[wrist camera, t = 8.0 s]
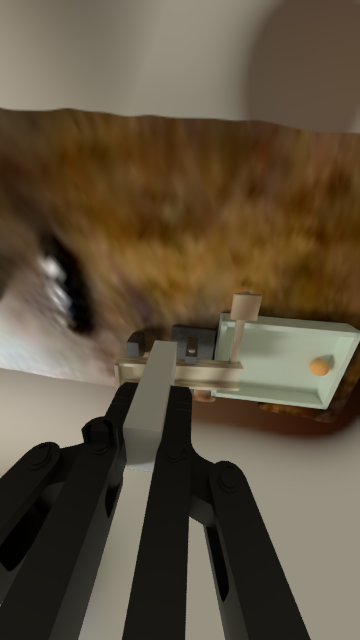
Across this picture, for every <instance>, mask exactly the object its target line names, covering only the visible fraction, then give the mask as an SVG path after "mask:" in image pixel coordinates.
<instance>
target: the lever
mask: <svg viewBox="0 0 360 640" xmlns="http://www.w3.org/2000/svg"><path fill="white" fill-rule="evenodd" d="M261 299H262V295H260V294H251V293H250V292H241V293H234V295H233V301H232V307H231V313H230V319H231V320H236V324H235V329H234V335H233V340H232V346H231V351H230V357H229V361H222V360H200V359H197V364H189V363H185V359H178V358H176V372H175V380H174V386H183V387H189V389H200V390H222V391H239V386H238V380H239V375H240V372H243V370H244V369H243V366H242V364H241V362H240V361H238V356H239V351H240V346H241V341H242V336H243V331H244V326H245V321H246V320H252V321H257V317H258V312H259V308H260V303H261ZM148 358H149V357H135V356H119V357H118V359H117V361H116V363H115V365H114V368H115V378H116V387H117V388H119V387H120V386H121V385H122V384H123V383H124V382H135V383H139V382H140V379H141V376H142V374H143V371H144V368H145V366H146V363H147V360H148Z"/></svg>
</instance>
